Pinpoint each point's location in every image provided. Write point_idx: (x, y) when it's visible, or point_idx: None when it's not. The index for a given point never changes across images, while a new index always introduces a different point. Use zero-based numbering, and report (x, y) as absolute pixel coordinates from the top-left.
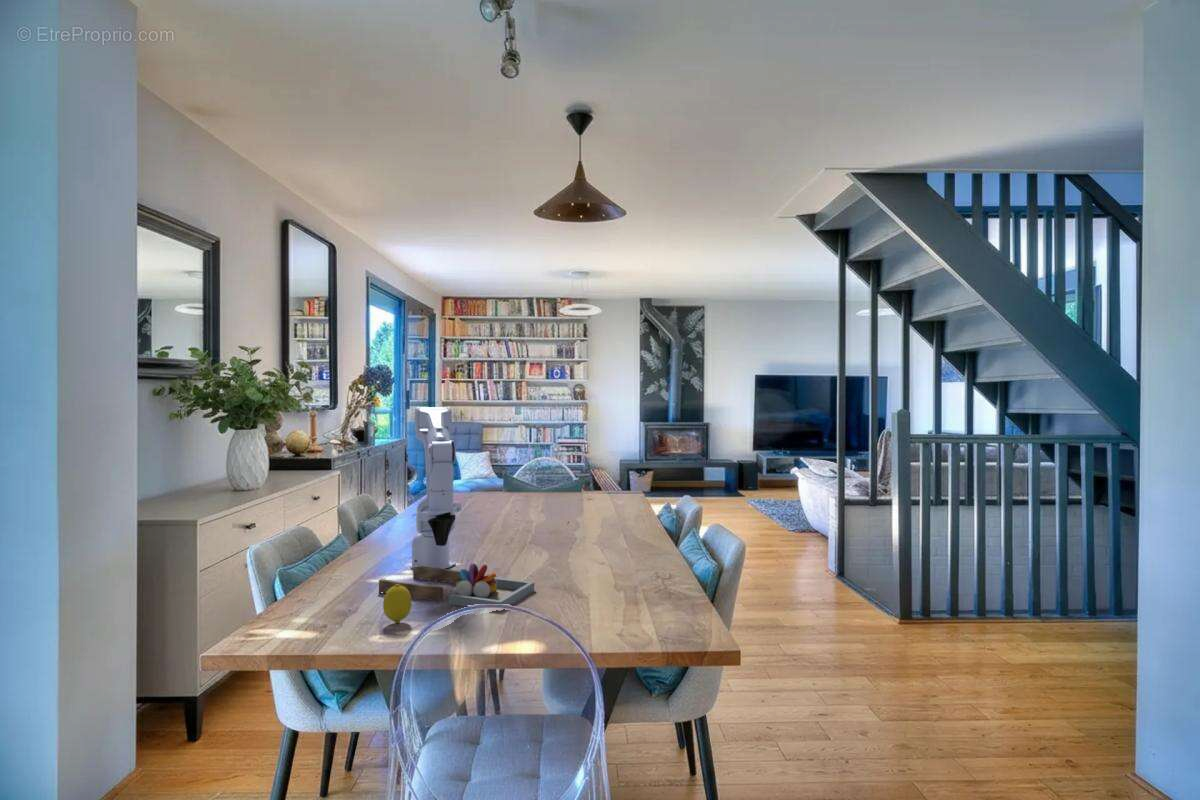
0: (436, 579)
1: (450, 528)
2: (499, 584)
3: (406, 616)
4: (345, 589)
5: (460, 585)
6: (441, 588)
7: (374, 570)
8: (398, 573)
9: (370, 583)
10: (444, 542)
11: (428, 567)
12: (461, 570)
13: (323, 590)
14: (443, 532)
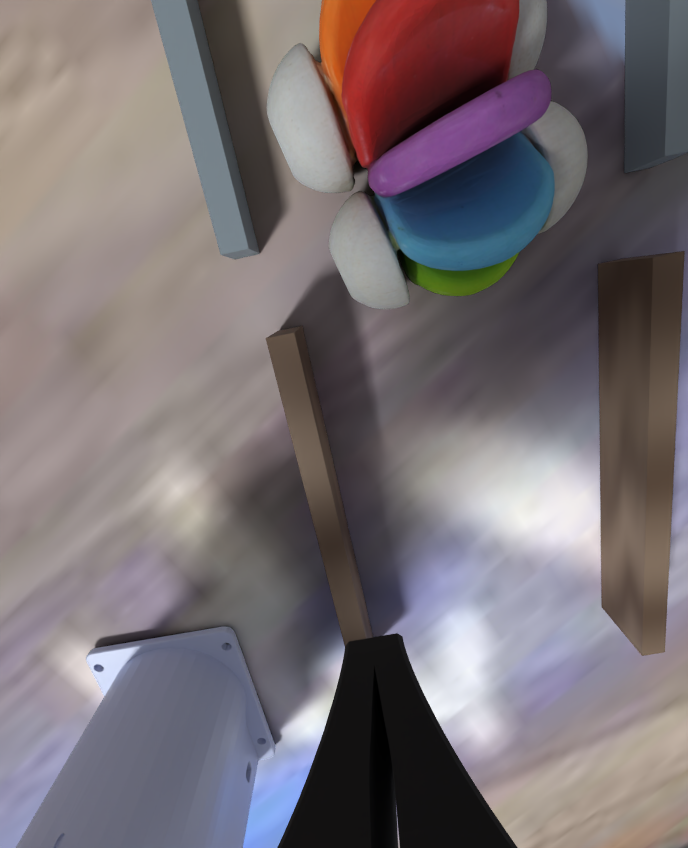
0: (350, 538)
1: (293, 829)
2: (223, 122)
3: None
4: (632, 726)
5: (586, 158)
6: (664, 255)
7: None
8: None
9: (524, 715)
10: (392, 656)
11: (350, 628)
12: (528, 224)
13: (673, 769)
14: (466, 776)
